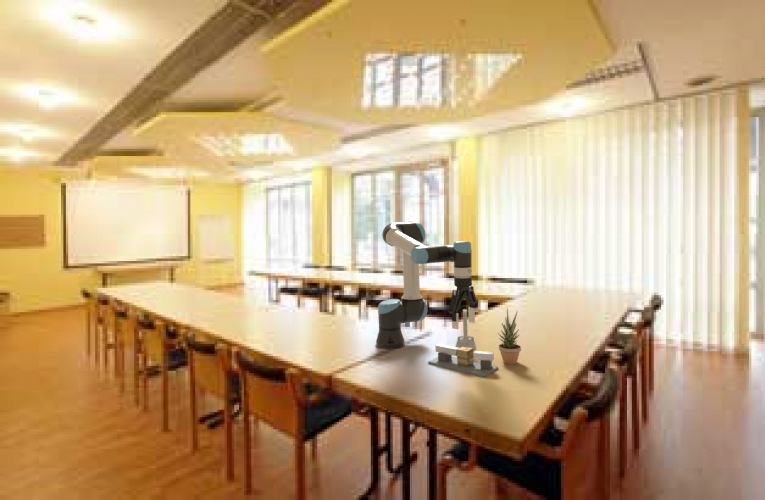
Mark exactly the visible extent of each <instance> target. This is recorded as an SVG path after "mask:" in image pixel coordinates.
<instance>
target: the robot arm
mask: <svg viewBox="0 0 765 500" xmlns="http://www.w3.org/2000/svg"><path fill="white" fill-rule="evenodd" d="M425 239H426V229H425V227H424V226H423V224H422V223H421V222H419V221H401V222H400V221H398V222H396V221H395V222H391V223H388V224H387V225H386V226H385V227H384V228H383V230H382V240H383V241H384V243H385V244H387V245H389V247H395V248H396V249H398V250H400V251H402V271H403V272H402V275H403V276H402V277H403V294H402V296H400V297H401V298H400V299H401V300H400V299H396V298H392V299H386V300H383V301H381V302H380V303H378V305H377V308H378V309H377V314H378V333H377V337H376V340H375V342H376V343H375V345H376V347H378V348H381V349H397V348H401V347H403V346H405V338H404V335H403V332H402V327H401V326H402V325H401V324H407V323H413V322H414V323H417V322H420V321H423V320H424V319H425V318H426V316H427V313H428V304H427V301H426V299H424V298H423V296H422V294H421V292H420V290H421V289H420V265H425V264H435V263H436V264H437V263H438V264H439V263H449V262H450V263H453V276H454V279H453V280H454V282H453V284H454V285H453V286H455V287H456V289H452V291H451V299H450V302H449V307H448V313H449V314H451V328H452V329H455V330H459V328H460V327H459V322H460V321H459V313H458V312H459V309H460V307H461V304H462V302H463V301H464V299H465V301H466V302H467V304H468V306H469V307H468V309H467V313H468V322H469V323H476V318H475V317H476V316H475V314H476V313H475V311H476V308H478V300H477V297H476V294H475V288H474V286H473V281H472V280H473V277H472V274H473V273H472V272H473V269H472V267H473V266H472V264H473V263H472V262H473V261H472V257H473V256H472V253H473V252H472V251H473V250H472V243H471V242H470V241H468V240H458V241H454V242H453V245H452V244H442V245H425V244H423V243H425Z"/></svg>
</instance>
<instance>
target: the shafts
mask: <svg viewBox="0 0 765 500" xmlns="http://www.w3.org/2000/svg"><path fill="white" fill-rule="evenodd" d="M457 349H459V348H458V347H456V346H452V345H447V344H443V343H438V344H435V353H444V354H449V355H452V357H457ZM494 355H495V353H494V352H493V351H483V350H482V351H481V350H476V351H474V353H473V356H474V358H473V361H481V360H483V361H492V362H494V359H495V358H494V357H495V356H494Z"/></svg>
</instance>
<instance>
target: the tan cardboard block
mask: <svg viewBox="0 0 765 500" xmlns="http://www.w3.org/2000/svg"><path fill="white" fill-rule="evenodd" d="M456 358H457V365H459V366H464V367H469V366H471V365H473V361H474V356H473V348H468V347H461V348H459V349H457V356H456Z"/></svg>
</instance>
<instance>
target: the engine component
mask: <svg viewBox="0 0 765 500" xmlns="http://www.w3.org/2000/svg"><path fill="white" fill-rule="evenodd" d="M462 325H463V326H462V327H463V329H462V330H463V331H462V332H463V335H459V336H458V337H457V341H456V342H455V343H456V344H455V347H458V348H461V347H468V348H473V353H474V351H477V344H476V342H475V337H474V336H471V335H468V309H462Z"/></svg>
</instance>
